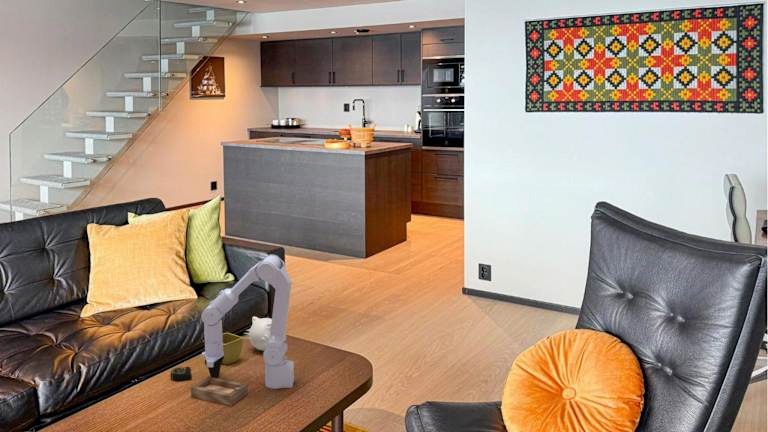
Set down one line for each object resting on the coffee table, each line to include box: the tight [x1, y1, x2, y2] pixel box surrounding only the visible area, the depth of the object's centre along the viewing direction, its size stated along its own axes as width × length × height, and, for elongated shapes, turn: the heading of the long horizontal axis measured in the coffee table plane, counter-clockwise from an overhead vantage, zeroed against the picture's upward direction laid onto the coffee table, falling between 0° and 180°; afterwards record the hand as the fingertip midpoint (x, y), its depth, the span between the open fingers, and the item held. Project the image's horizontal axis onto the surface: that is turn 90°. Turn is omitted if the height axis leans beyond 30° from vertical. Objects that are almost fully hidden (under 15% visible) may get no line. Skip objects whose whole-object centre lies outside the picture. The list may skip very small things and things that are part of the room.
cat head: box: [243, 316, 272, 352], centre depth 253 cm, size 15×13×12 cm
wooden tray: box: [190, 375, 249, 407], centre depth 214 cm, size 15×9×4 cm, turn 68°
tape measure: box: [169, 366, 193, 383], centre depth 227 cm, size 7×7×4 cm
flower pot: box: [221, 332, 244, 366], centre depth 242 cm, size 9×9×9 cm
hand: (215, 378), depth 224 cm, fingers closed
